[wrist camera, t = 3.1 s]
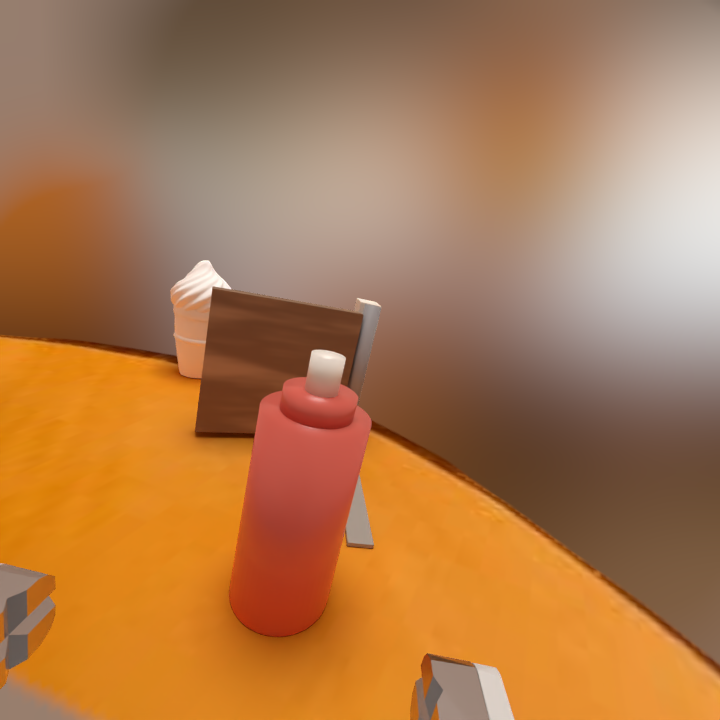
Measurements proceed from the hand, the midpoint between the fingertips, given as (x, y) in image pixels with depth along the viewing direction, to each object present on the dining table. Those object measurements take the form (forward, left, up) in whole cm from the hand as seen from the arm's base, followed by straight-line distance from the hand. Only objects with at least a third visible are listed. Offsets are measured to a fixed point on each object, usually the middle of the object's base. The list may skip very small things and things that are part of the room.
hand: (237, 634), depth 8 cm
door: (+15, +28, -11) cm, 34 cm away
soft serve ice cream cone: (+12, +46, -12) cm, 49 cm away
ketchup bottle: (+8, +9, -12) cm, 17 cm away
